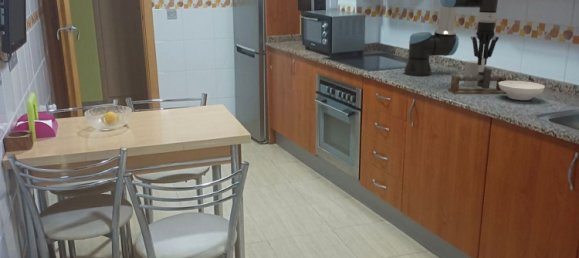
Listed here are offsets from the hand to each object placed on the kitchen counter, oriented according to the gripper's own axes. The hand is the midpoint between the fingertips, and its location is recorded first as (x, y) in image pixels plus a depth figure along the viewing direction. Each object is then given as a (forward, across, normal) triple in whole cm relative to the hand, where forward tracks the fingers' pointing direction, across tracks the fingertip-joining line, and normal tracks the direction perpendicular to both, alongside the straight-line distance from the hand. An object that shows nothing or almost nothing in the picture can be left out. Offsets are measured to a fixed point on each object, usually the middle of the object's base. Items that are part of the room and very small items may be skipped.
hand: (480, 71), depth 258 cm
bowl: (+10, +12, -16) cm, 23 cm away
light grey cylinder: (+10, +4, +18) cm, 21 cm away
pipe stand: (+10, -1, 0) cm, 10 cm away
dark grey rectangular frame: (+7, +2, 0) cm, 8 cm away
